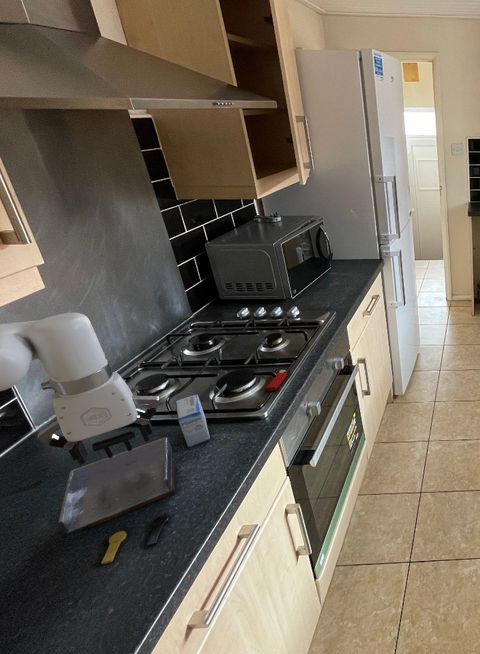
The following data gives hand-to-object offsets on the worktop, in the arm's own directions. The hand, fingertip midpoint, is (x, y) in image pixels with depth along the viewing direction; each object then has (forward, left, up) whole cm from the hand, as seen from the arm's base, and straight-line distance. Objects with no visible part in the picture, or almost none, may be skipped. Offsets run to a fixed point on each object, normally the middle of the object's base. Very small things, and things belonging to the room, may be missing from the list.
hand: (117, 447), depth 83 cm
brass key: (-2, -14, -11) cm, 18 cm away
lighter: (+30, +21, -11) cm, 39 cm away
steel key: (+4, -15, -11) cm, 19 cm away
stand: (0, -3, -11) cm, 11 cm away
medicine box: (+11, +10, -11) cm, 19 cm away
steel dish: (0, -6, -6) cm, 8 cm away
